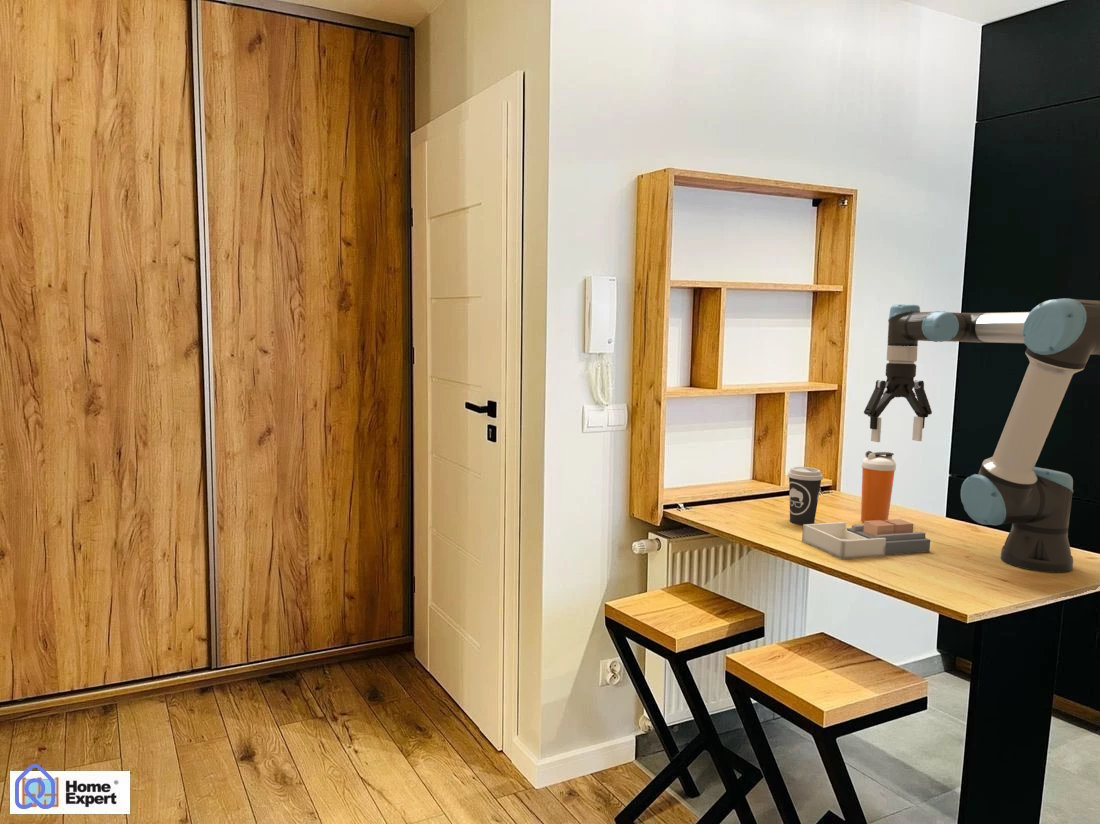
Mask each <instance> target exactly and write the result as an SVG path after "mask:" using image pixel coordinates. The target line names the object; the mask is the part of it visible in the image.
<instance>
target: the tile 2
mask: <svg viewBox="0 0 1100 824" xmlns="http://www.w3.org/2000/svg"><path fill="white" fill-rule="evenodd" d="M884 522H887V523H890V524H893V525H894V531H893V534H899V533H914V523H912V522H910V521H907V520H903V519H901V518H892V519H888V520H884Z"/></svg>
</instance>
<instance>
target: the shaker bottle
mask: <svg viewBox="0 0 1100 824" xmlns="http://www.w3.org/2000/svg"><path fill="white" fill-rule="evenodd" d="M894 455H895V453H893V452H889V451H888V452H887V451H878V452H873V451H872V450H868V451H866V452H865V456H864V457H863V460H861V468H862V469H861V470H862V471H861V474H862V475H861V476H862V477H861V508H860V509H861V510H860V522H861V523H863V524H864V521H873V520H882V521H884V520H889V516H890V508H891V499H892V492H893V486H894V485H893V484H894V478H895V477H894V476H895V471H897V469H896V467H897V463H896V461H895V460H894V459H893V456H894Z"/></svg>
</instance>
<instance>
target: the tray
mask: <svg viewBox="0 0 1100 824" xmlns="http://www.w3.org/2000/svg"><path fill="white" fill-rule="evenodd" d="M801 542H803V543H804V544H807V545H809V546H812V547H813V548H815V549H818V550H821V551H822V552H825V553H827V554H828V555H831V556H833V557H836V558H838V559H840V560H851V559H865V558H878V557H879V558H880V557H885V556H886V555H885V545H886V538H872V539H867V538H865V537H862V536H860V535H857V534H855V533H853V532H850V531H848V530H847V522H845V521H839V522H823V523H821V522H820V523H814V524H803V525H802V536H801Z"/></svg>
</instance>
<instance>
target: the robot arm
mask: <svg viewBox="0 0 1100 824" xmlns="http://www.w3.org/2000/svg"><path fill="white" fill-rule="evenodd" d="M888 316H889V317H888V321H887V322H888V326H887V327H888V328H887V345H886V346H887V349H886V361H888V362H887V363H886V364H885V376H886V380H881V379H878V380H876V381H875V386H874V390H873V391H872V393H871V396H870V398H869V400H868V402H867V404H866V407H865V409H864V411H863V414H864V415H866V416H867V417H870V419H869V428H870V430H871V431H870V433H871V436H870V442H875V443H880V442H881V433H882V431H881V430H882V417H880V416H881V414H882V413H883V412H884V411H885V409H887V407H888V405H889V404H891V401H892V400H894V399H895V398H904V399H906V401H907V403H908V404H909V405H910V407H911V409H912V410H913V412H914V413H915V415H916V416H913V424H912V441H916V442H922V441H923V440H922V439H923V430H924V428H925V421H926V420H925V419H926V418H928V417H929V416H930V415H932V414H933V411H932V408H931V405H930V402H929V399H928V396H927V393H926V391H925V382H924V380H918V379H917V380H914V379H915V377H916V376H917V364H916V363H917V361H918V346H919V344H918V343H919V341H920V342H922V341H923V342H934V343H938V342H939V343H941V342H942V343H943V342H952V343H953V342H954V343H955V342H960V343H961V342H962V343H963V342H964V343H1001V344H1002V343H1003V344H1004V343H1005V344H1024V345H1025V346H1026V350H1025V352H1024V353H1025V355H1026V357H1027V358H1028V361H1029V364H1028V366H1027V368H1026V371H1025V373H1024V376H1023V379H1022V382H1021V384H1020V387H1019V390H1018V392H1017V394H1016V397H1015V399H1014V402H1013V405H1012V407H1011V410H1010V412H1009V415H1008V417H1007V420H1006V422H1005V425H1004V427H1003V430H1002V432H1001V435H1000V438H999V440H998V442H997V445H996V448H995V450H994V452H993V455H992V456H991V457H988V458H986V459H984V460H983V461H982V463H981V466H980V469H979V471H978V474H976V473H974V474H971V475H970V476H968V477H966V479H964V481H963V482H962V484H961V488H960V499H961V503H962V505H963V509H964V511H965V512H966V514H967V515H968V516H969V518H971V520H973V521H975V522H976V523H977V524H981V525H992V526H999V525H1011V528H1010V531H1009V533H1008V535H1007V537H1006V539H1005V541H1004V545H1002V547H1001V549H1000V559H1001V561H1003V562H1004V563H1006V564H1009V565H1011V566H1015V567H1019V568H1021V569H1025V570H1026V569H1027V570H1031V571H1038V572H1045V573H1047V572H1048V573H1068V572H1071V571H1072V570H1073V568H1074V557H1073V555H1072V551H1071V545H1070V542H1069V541H1070V540H1069V537H1068V536H1069V525H1070V515H1071V510H1072V509H1071V508H1072V498H1073V494H1074V489H1073V488H1074V487H1073V486H1074V480H1073V477H1072V475H1071V474H1069V473H1067V472H1063V471H1059V470H1054V469H1049V468H1045V467H1043V468H1042V467H1038V466H1036V463H1037V461H1038V459H1039V457H1040V455H1041V452H1042V451H1043V447H1044V445H1045V442H1046V439H1047V438H1048V436H1049V433H1050V431H1051V429H1052V425H1053V424H1054V420H1055V419H1056V416H1057V413H1058V411H1059V409H1060V406H1061V404H1062V401H1063V399H1064V397H1065V394H1066V392H1067V390H1068V388H1069V385H1070V383H1071V380H1072V378H1073V376H1074V374H1077V373H1078V372H1081V371H1083V370H1084V369H1085V367H1086V365H1087V362H1088V360H1089V358H1090V356H1091V355H1095V356H1096V355H1100V300H1095V299H1094V300H1090V299H1078V298H1077V299H1076V298H1070V297H1069V298H1066V297H1065V298H1056V299H1048V300H1045V301H1043V302H1041V303H1039V304H1038V305H1036V306H1035V307H1033V308H1032V309H1031V311H1020V312H1019V311H1017V312H1016V311H1015V312H1013V311H1011V312H950V311H945V310H944V311H943V310H942V311H941V310H935V311H921V308H920V305H918V304H893V305H891V306H890V308H889V315H888ZM913 389H914V390H913Z"/></svg>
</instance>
